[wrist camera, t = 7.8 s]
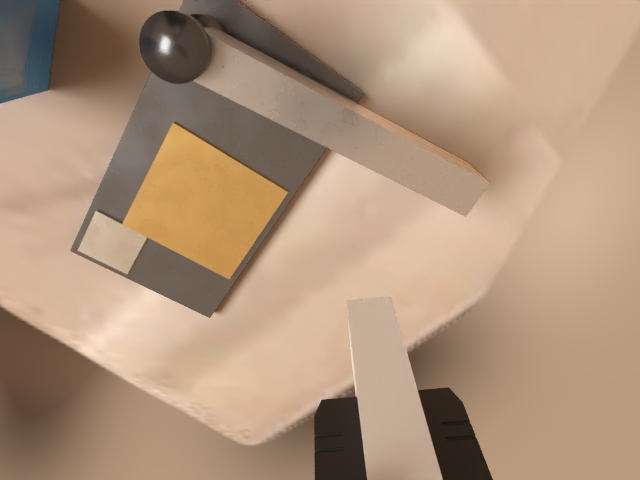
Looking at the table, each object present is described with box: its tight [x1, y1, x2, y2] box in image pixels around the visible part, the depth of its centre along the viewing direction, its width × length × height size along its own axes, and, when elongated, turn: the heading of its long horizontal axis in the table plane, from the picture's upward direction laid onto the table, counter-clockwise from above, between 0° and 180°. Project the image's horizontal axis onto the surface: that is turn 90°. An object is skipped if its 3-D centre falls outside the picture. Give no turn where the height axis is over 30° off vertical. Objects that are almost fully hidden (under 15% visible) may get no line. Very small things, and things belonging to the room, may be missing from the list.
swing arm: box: [139, 11, 490, 217], centre depth 24 cm, size 20×3×5 cm, turn 63°
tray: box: [70, 0, 363, 318], centre depth 30 cm, size 22×12×2 cm, turn 146°
